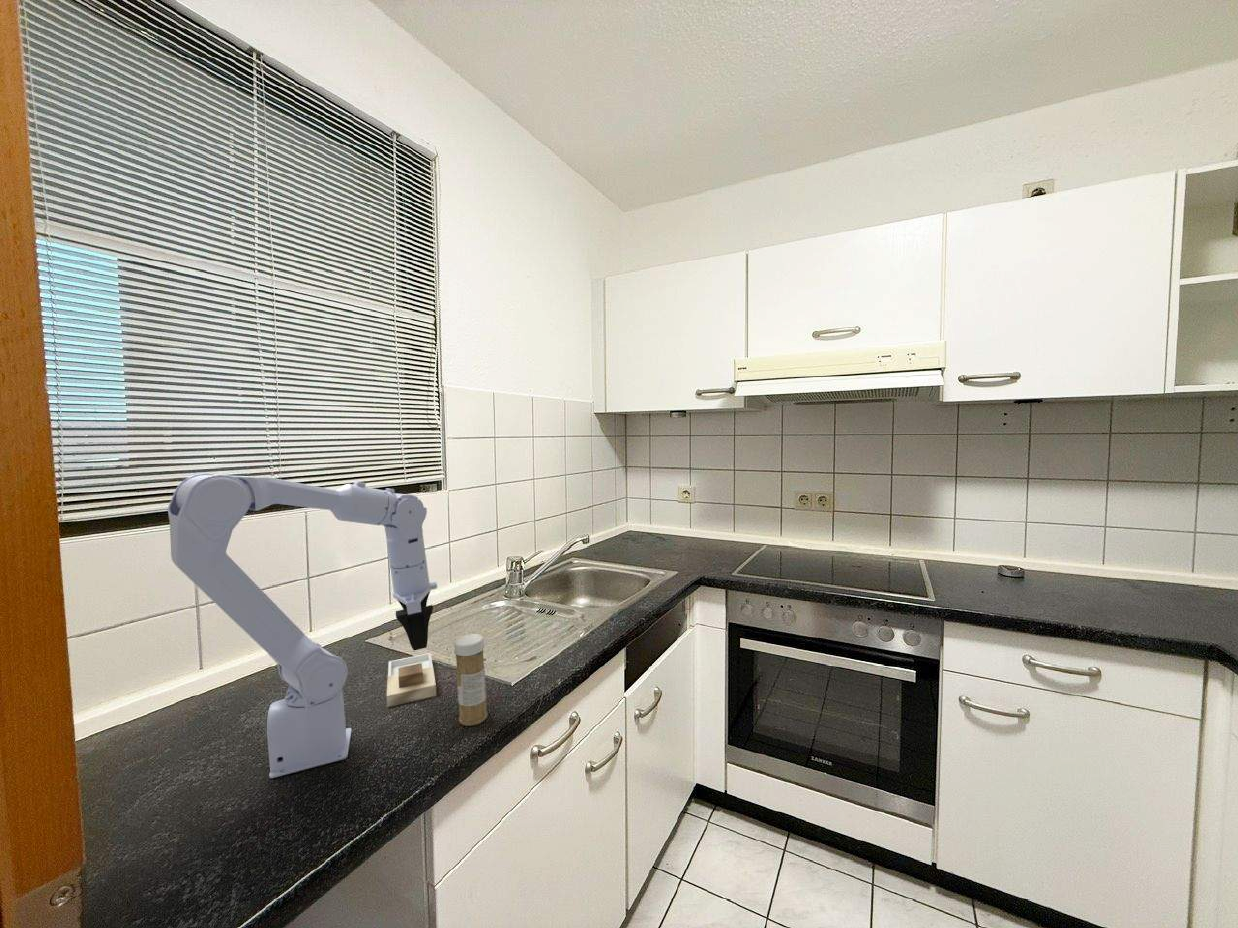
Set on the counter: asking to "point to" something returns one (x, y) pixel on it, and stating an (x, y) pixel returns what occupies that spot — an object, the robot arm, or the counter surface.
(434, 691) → the birch board
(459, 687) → the sprinkles bottle
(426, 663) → the box
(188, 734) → the counter surface
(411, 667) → the walnut block
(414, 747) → the counter surface
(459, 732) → the counter surface
